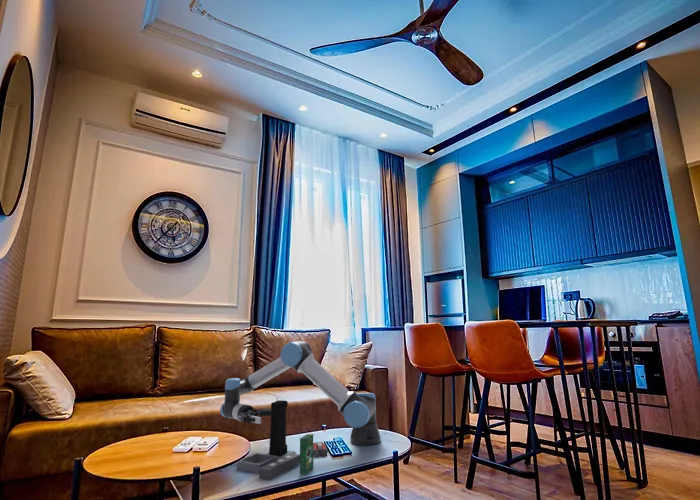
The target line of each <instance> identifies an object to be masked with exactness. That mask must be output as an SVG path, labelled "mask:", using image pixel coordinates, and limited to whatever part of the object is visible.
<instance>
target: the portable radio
mask: <svg viewBox="0 0 700 500" xmlns="http://www.w3.org/2000/svg"><path fill="white" fill-rule="evenodd" d="M276 399H278V396H277V397H276ZM288 403H289V402H288V400H281V399H280V400H279V399H278V400H276V401H273V402H271V404H270V409H271V416H270V431H269V447H268V448H269V449H268V453H269V455H274V456H278V457H281V456H282V455H284V454H286V453H287V450H288V445H287V429H286V428H287V408H288V407H289V406H288Z"/></svg>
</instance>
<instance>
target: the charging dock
mask: <svg viewBox="0 0 700 500" xmlns="http://www.w3.org/2000/svg"><path fill="white" fill-rule="evenodd" d="M243 458H244V459H243ZM243 458H241V459H242V460H241V459H240V460H241V461H239V462H238V463H237V462H236V470H239V471H244V472H249V473H256V474H258V475H259V477H258V479H262V480H266V481H271V480H273V479H274V478H276V477H278V476H280V475H283V473H285V472H287V471H289V470H291V469H293V468H295V467H296V466H298V465H300V453H299V454H298V453H294V454H293V453H290V454H288V455H286V456H284V457H282V458H280V459H278V456H274V455H268V453H262V452H255V453H252V454H250V455H248V456H246V457H243ZM256 462H257V463H256ZM258 462H260V463H258Z"/></svg>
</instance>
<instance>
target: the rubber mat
mask: <svg viewBox="0 0 700 500" xmlns="http://www.w3.org/2000/svg"><path fill="white" fill-rule="evenodd" d="M290 453H293V454H296V451H294V450H293V451H292V450H288V449H287V453H286V454H284V455H282V456H281V457H278V459H280V458H282V457H284V456H286V455H288V454H290ZM267 454H268V455H269V452H267Z"/></svg>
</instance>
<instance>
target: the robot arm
mask: <svg viewBox="0 0 700 500" xmlns="http://www.w3.org/2000/svg"><path fill="white" fill-rule="evenodd" d="M314 357H315V356H314V353H313V349H312V346H311V345H310V343H308V342H306V341H305V340H297V341H295V340H294V341H293V340H292V341H289V342H287V343H285V344H284V346H283V347H282V348H281V350H280V357H278V358H277V359H275V360H273V361H272V362H270V363H268V364H266V365H265V366H263V367H261V368H260V369H258V370H256V371H254V372H253V373H251V374H250V375H248V376H246V377H245V378H243V379H241V378H238V377H233V378H232V377H231V378H227V379H226V380H225V386H224V402H223V403H222V404H221V407H220V408H219V412H220V415H221V416H222V417H224V418H227V419H233V420H237V421H239V422H242V424H245V423H246V422H247V425H249V424H251V423H254V424H257V425H261V424H262V417H271V408H258V409H257V408H254V407H253V406H252V405H251V404H250V405H249V404H244V403H240V402H241V396H242V395H245V394H249V393H252V392H253V390H255V389H256V388H258V387H259V386H261V385H263V384H265V383H266V382H268V381H270V380H272V379H274V378H275V377H277V376H278V375H280V374H282V373H284V372H285V371H287V370H290V368H292V369H293V370H294V371H296V372H297V373H302V374H304V376H305V377H307V378H308V379H309V380H310V381H311V382H312V383H313V384H314V385H315V387H317V388H318V389H319V390H320V391H321V392H323V394H325V395H326V396H327V397H328V398H329V399H330V400H331V401H332V402H333V403H334V404H335V405H336V406H337V408H338V412H339V413H340V415H342V416H343V419H344V422H345V423H346V425H349V426H350V427H351V428H352V429H351V432H350V433H351V434H350V436H349V437H350V438H349V439H350V443H351V444H353V445H357V446H373V445H377V444H379V443H381V435H380V430H379V428H378V424H377V402H376V400H377V398H376V394H375V393H374V392H355V391H353V390H352V391H349V390H348V389H347V388H346V386H344V385H343V384H342V383H341V382H340V381H339V380H338V379H336V378H335V377H334V376H333V375H332V374H331V373H330V372H329V371H328V370H327V369H325V368H324V366H323V365H321V364H320V363H319V362H318V361H317V360H316V359H315V358H314Z"/></svg>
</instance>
